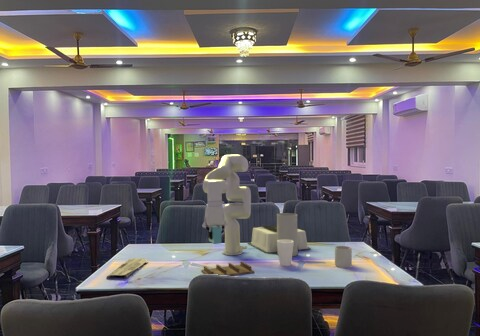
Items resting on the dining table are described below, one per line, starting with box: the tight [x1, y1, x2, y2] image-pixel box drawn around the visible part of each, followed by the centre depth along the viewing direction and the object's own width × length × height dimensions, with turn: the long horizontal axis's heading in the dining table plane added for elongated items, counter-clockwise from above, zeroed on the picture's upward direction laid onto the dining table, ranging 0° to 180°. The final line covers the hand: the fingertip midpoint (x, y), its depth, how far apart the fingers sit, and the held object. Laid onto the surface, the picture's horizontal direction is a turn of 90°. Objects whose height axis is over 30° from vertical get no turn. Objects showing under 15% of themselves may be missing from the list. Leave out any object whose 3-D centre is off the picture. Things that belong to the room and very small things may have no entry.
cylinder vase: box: [276, 212, 299, 258], centre depth 231 cm, size 12×12×25 cm
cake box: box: [247, 224, 312, 254], centre depth 256 cm, size 35×33×12 cm
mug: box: [334, 245, 353, 269], centre depth 206 cm, size 11×10×10 cm
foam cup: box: [277, 240, 294, 267], centre depth 209 cm, size 10×9×13 cm
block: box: [208, 226, 222, 245], centre depth 197 cm, size 4×9×8 cm, turn 23°
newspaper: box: [106, 257, 149, 279], centre depth 201 cm, size 35×12×4 cm, turn 179°
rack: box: [200, 260, 255, 277], centre depth 194 cm, size 24×14×3 cm, turn 114°
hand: (215, 238), depth 197 cm, fingers closed on block, 4 cm apart
